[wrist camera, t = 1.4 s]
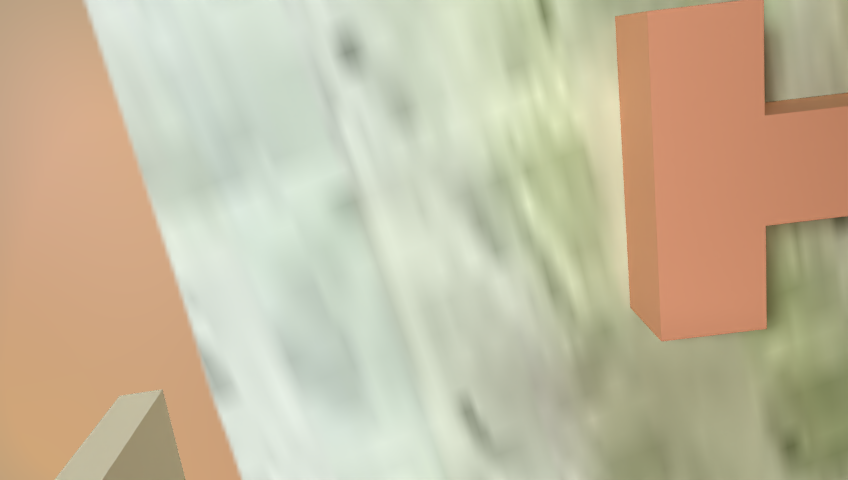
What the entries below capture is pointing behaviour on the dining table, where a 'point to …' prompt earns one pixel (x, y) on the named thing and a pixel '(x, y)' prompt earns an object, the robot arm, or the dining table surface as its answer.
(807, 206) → the t block
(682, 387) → the dining table surface
